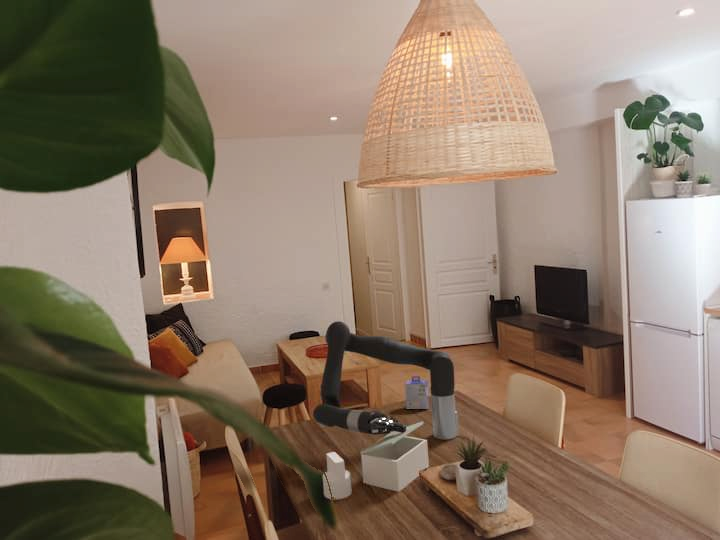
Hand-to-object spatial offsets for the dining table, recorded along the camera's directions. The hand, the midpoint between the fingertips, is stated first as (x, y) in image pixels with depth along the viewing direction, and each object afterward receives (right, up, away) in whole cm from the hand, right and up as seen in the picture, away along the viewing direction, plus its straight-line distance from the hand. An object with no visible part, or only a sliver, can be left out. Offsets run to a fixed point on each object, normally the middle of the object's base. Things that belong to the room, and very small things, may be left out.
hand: (405, 429), depth 197 cm
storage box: (-2, -17, +4) cm, 18 cm away
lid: (-4, -4, +3) cm, 7 cm away
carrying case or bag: (-11, -13, +58) cm, 60 cm away
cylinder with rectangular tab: (-22, -20, -5) cm, 30 cm away
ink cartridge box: (+11, -10, +72) cm, 74 cm away
